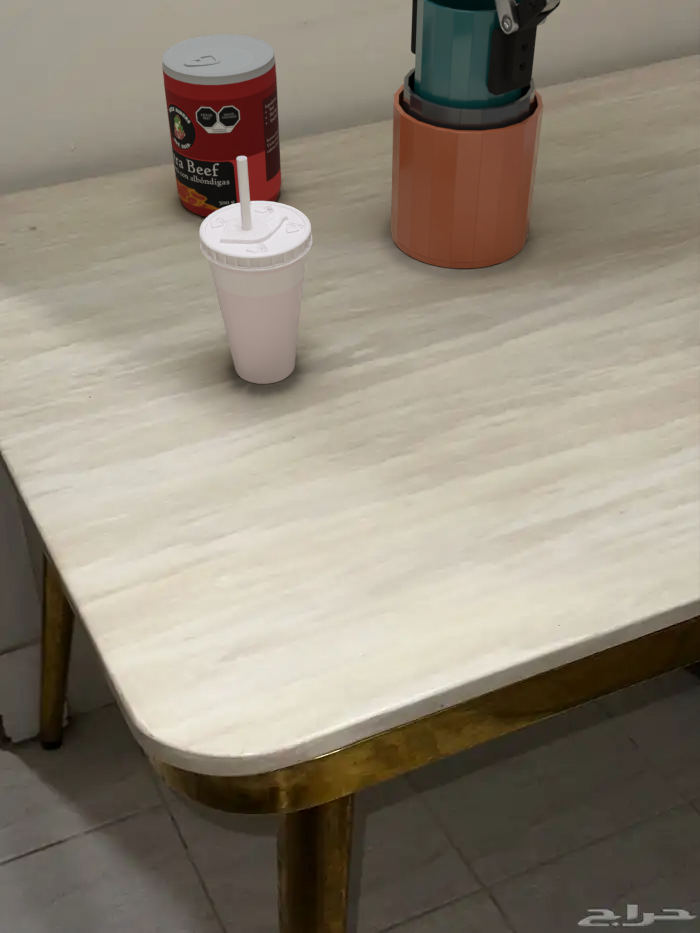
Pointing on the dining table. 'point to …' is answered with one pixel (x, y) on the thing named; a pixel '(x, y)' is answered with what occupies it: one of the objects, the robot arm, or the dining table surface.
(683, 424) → the dining table surface
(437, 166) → the stack
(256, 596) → the dining table surface
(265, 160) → the canned food
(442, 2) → the teal cup
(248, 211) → the smoothie
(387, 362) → the dining table surface
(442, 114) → the stack top
